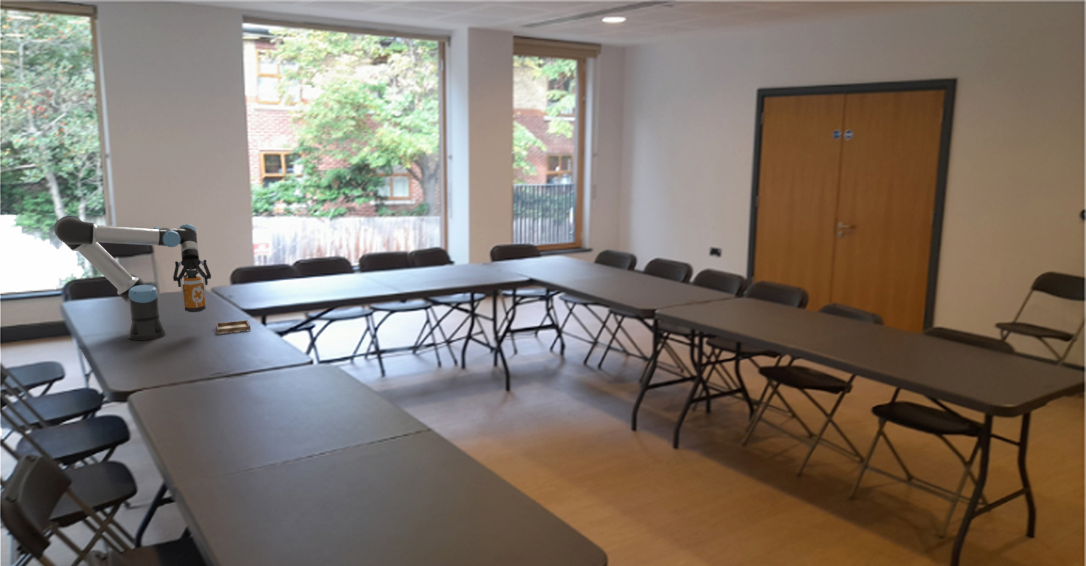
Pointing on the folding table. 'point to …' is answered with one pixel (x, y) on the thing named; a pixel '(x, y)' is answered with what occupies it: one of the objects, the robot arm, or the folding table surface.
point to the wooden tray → (232, 326)
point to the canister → (193, 292)
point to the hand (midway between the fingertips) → (193, 291)
